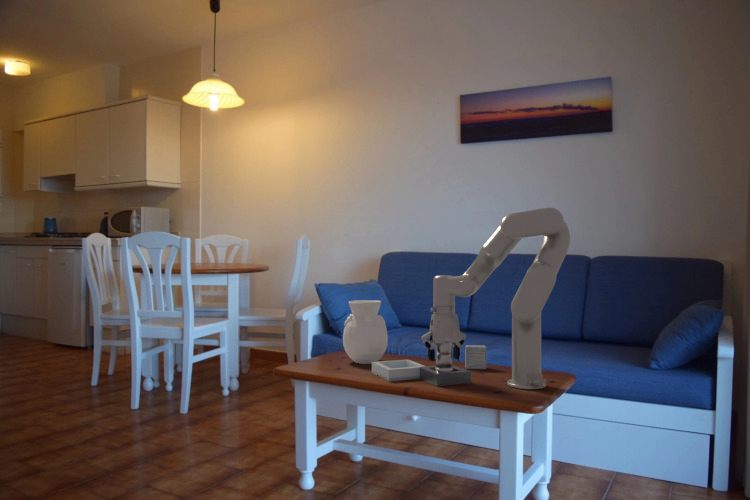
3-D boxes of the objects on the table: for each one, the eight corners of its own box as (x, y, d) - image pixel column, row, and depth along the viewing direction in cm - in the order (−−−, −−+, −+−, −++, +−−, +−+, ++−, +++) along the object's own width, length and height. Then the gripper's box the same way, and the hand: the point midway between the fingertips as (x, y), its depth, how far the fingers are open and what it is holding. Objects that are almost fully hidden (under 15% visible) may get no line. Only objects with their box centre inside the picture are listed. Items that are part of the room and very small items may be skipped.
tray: (427, 378, 206) (427, 366, 206) (388, 381, 201) (388, 369, 201) (408, 369, 221) (408, 359, 221) (371, 372, 216) (371, 362, 216)
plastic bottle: (455, 382, 199) (455, 324, 199) (435, 382, 199) (435, 324, 199) (452, 378, 205) (452, 322, 205) (433, 378, 205) (433, 322, 206)
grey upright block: (485, 367, 226) (485, 345, 226) (486, 369, 222) (486, 347, 222) (465, 367, 227) (464, 345, 227) (465, 369, 222) (465, 346, 222)
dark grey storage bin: (470, 383, 198) (470, 371, 198) (437, 386, 193) (437, 374, 193) (450, 375, 211) (450, 364, 211) (418, 378, 206) (418, 366, 206)
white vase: (342, 358, 246) (342, 299, 246) (385, 357, 247) (385, 299, 247) (343, 366, 227) (343, 303, 227) (390, 366, 229) (390, 302, 229)
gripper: (426, 312, 196) (426, 363, 195) (471, 310, 202) (471, 359, 202) (417, 310, 203) (417, 359, 202) (460, 308, 209) (460, 356, 209)
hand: (444, 359), depth 202 cm, fingers open, 9 cm apart
